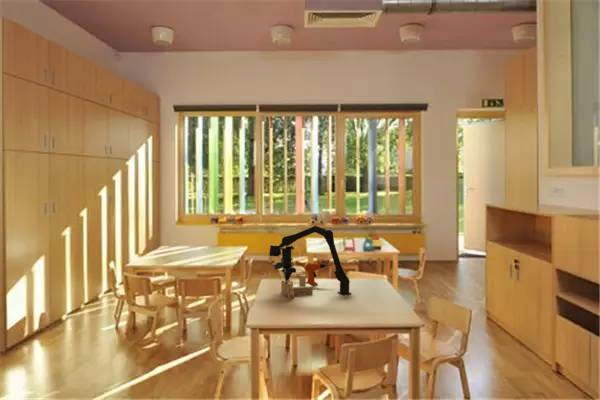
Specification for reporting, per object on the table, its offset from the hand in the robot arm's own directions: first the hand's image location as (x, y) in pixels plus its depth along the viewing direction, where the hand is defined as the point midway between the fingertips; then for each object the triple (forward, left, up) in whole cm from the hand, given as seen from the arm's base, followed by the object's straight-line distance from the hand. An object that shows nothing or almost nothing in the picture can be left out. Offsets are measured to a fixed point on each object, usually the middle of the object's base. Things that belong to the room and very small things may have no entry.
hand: (286, 282), depth 301 cm
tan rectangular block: (-6, 0, -1) cm, 6 cm away
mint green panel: (-5, -6, -2) cm, 8 cm away
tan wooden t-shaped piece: (-8, -5, -6) cm, 11 cm away
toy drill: (+15, -26, -6) cm, 31 cm away
